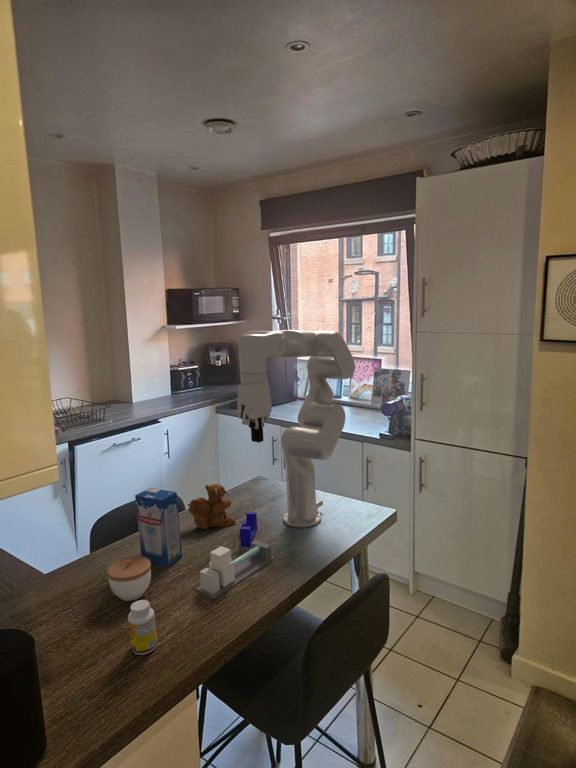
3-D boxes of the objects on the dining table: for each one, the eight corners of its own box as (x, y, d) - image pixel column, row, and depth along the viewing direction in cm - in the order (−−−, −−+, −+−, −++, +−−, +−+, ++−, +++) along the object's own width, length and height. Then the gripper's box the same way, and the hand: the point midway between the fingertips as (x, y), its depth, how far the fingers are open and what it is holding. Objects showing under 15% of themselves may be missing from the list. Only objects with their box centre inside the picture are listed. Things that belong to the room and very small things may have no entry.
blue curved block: (243, 529, 167) (242, 512, 166) (257, 529, 167) (256, 512, 166) (236, 547, 156) (234, 528, 155) (250, 547, 155) (249, 529, 154)
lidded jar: (109, 588, 136) (105, 555, 135) (151, 578, 140) (147, 546, 138) (110, 610, 127) (106, 575, 125) (155, 600, 130) (152, 565, 129)
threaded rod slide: (256, 551, 152) (255, 534, 151) (275, 558, 148) (274, 541, 147) (195, 589, 134) (193, 571, 133) (214, 598, 129) (213, 579, 129)
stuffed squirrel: (238, 523, 172) (235, 485, 169) (199, 536, 164) (196, 496, 162) (224, 513, 180) (221, 477, 178) (186, 525, 172) (183, 487, 170)
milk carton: (141, 560, 150) (134, 495, 147) (156, 550, 156) (150, 487, 152) (168, 567, 146) (162, 500, 142) (182, 557, 151) (176, 492, 147)
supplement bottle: (132, 641, 115) (127, 599, 113) (158, 637, 116) (154, 595, 114) (129, 658, 109) (125, 614, 108) (156, 654, 110) (152, 610, 109)
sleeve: (221, 574, 140) (219, 545, 138) (235, 580, 136) (233, 550, 135) (210, 580, 137) (208, 551, 135) (224, 587, 133) (222, 557, 132)
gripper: (261, 373, 153) (264, 433, 156) (225, 381, 141) (229, 446, 145) (281, 374, 148) (284, 436, 152) (245, 383, 137) (249, 450, 140)
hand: (257, 441), depth 148 cm, fingers closed
